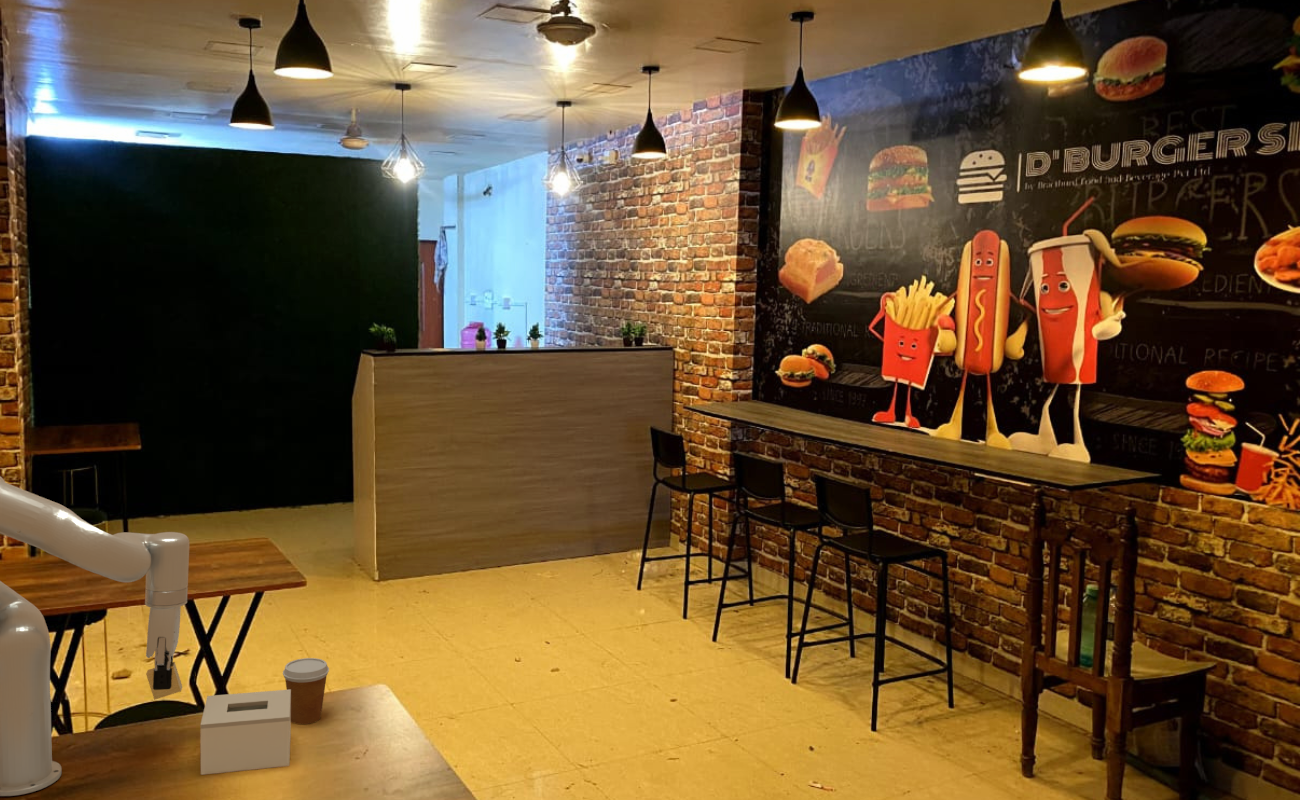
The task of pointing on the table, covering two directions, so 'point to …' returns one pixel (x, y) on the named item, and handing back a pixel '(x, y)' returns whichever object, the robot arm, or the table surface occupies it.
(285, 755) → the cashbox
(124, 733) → the table surface
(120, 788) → the table surface
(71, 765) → the table surface
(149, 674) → the wooden block
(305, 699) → the disposable coffee cup
